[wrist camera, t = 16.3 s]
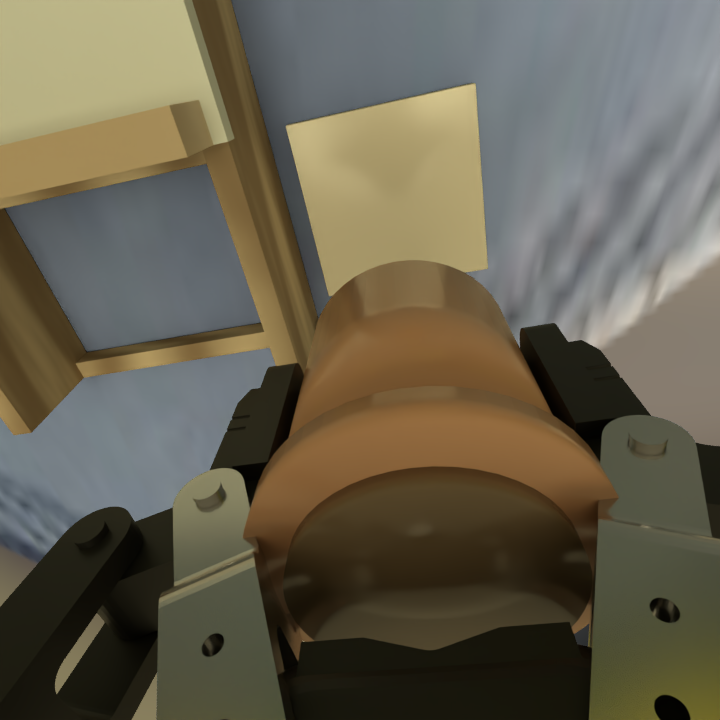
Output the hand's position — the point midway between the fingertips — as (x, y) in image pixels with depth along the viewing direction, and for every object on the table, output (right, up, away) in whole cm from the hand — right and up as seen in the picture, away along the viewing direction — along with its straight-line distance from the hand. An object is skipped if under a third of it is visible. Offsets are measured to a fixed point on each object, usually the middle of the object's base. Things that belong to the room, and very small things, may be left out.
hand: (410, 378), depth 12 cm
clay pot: (0, +1, +1) cm, 1 cm away
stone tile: (+1, +10, +17) cm, 19 cm away
